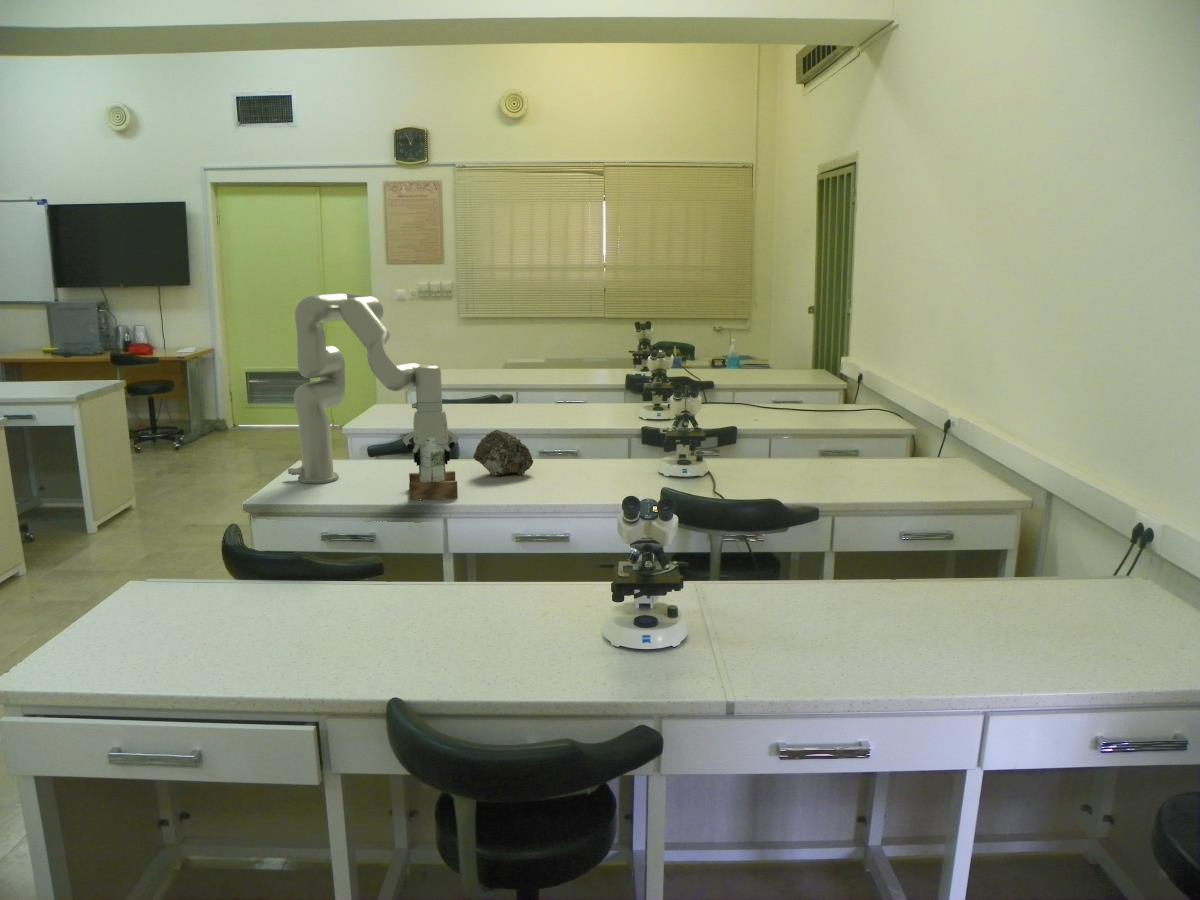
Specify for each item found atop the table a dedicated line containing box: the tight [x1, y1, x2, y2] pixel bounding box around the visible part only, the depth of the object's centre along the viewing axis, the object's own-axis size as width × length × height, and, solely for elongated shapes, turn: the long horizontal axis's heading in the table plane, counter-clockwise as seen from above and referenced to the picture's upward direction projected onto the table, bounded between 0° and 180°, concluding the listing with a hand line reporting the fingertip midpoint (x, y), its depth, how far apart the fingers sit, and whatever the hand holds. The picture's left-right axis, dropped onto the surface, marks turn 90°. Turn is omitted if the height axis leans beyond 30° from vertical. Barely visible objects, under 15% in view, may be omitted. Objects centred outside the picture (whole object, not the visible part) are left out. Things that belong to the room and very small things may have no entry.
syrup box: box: [418, 437, 446, 482], centre depth 275 cm, size 6×6×14 cm
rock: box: [472, 429, 534, 476], centre depth 301 cm, size 18×14×15 cm
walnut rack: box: [408, 470, 459, 501], centre depth 276 cm, size 14×14×5 cm
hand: (432, 463), depth 275 cm, fingers closed on syrup box, 8 cm apart
